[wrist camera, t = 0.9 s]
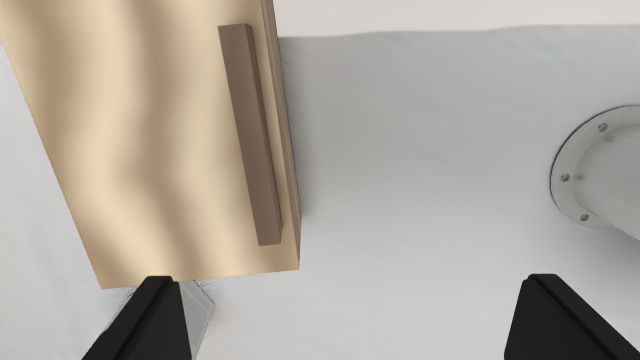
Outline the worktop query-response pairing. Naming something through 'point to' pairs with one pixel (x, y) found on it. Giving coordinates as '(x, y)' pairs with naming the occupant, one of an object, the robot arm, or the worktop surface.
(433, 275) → the worktop surface
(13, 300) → the worktop surface
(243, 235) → the mailer lid
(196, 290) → the small box
